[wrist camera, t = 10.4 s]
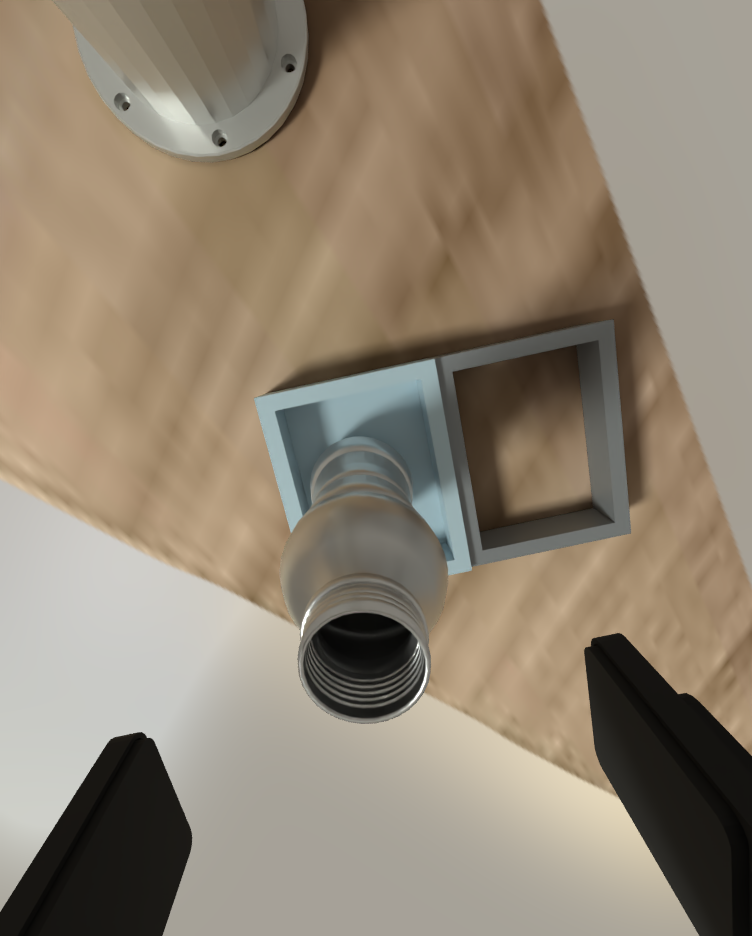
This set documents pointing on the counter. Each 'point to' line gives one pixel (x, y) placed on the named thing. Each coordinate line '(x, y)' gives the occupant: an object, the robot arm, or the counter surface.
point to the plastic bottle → (363, 584)
